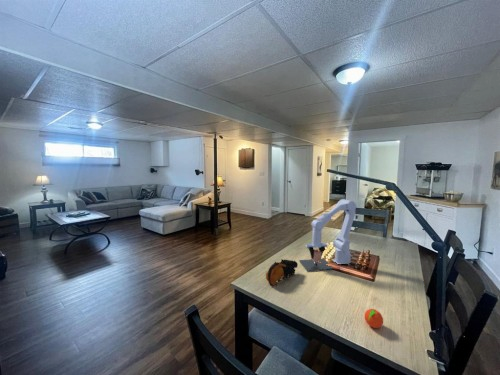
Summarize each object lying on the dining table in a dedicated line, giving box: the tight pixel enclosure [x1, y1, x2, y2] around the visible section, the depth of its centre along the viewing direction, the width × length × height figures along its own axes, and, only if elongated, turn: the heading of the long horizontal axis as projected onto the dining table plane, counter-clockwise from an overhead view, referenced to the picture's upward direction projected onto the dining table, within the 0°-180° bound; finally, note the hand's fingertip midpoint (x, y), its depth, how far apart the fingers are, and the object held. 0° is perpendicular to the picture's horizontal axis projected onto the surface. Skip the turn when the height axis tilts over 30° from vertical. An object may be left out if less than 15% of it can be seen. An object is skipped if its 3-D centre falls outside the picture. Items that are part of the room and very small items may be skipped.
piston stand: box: [298, 258, 335, 272], centre depth 144 cm, size 18×14×5 cm
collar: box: [310, 248, 323, 261], centre depth 144 cm, size 5×5×6 cm
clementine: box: [364, 308, 384, 329], centre depth 90 cm, size 8×7×7 cm
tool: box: [265, 258, 299, 286], centre depth 128 cm, size 8×23×15 cm, turn 131°
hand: (316, 257), depth 144 cm, fingers closed on collar, 5 cm apart
